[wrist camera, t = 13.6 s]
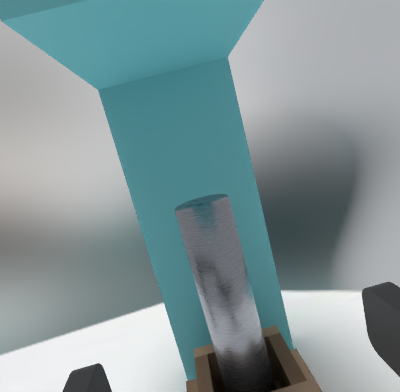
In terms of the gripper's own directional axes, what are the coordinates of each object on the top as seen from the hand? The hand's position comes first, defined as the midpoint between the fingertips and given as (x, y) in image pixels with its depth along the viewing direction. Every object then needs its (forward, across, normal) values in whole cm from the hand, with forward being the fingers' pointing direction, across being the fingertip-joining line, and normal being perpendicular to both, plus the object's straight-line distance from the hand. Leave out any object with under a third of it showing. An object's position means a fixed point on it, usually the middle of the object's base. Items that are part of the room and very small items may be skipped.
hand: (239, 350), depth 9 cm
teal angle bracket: (+10, -1, +15) cm, 18 cm away
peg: (+10, -1, +14) cm, 17 cm away
